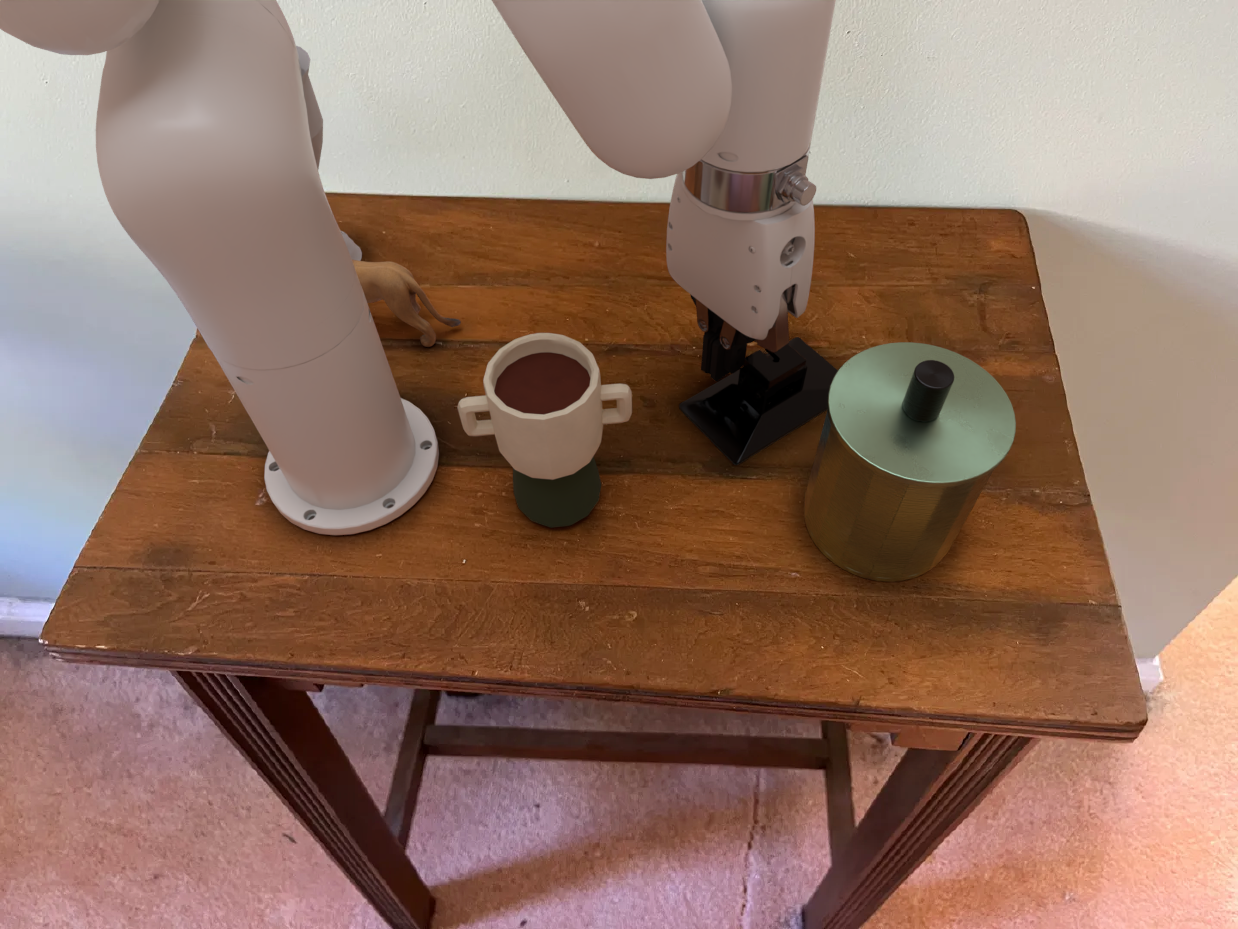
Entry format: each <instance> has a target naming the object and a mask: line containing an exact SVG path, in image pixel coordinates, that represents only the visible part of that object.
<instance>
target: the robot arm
mask: <svg viewBox="0 0 1238 929" xmlns="http://www.w3.org/2000/svg"><path fill="white" fill-rule="evenodd" d="M491 2H492V3H493V5H494V7H495V9H496V10H497V12H498V13H499V15H500V16H501V18H502V20H503V21H504V23H505V25H506V26H507V27H508V30H509V31H510V33H511V34H512V35H513V37H514V38H515V40H516V42H517V43H518V45H519V46H520V48H521V50H522V51H523V53H524V54H525V56H526V57H527V59H528V60H529V62H530V63H531V65H532V66H533V68H534V69H535V71H536V73H537V74H538V75H539V77H540V78H541V80H542V82H543V83H544V85H545V86H546V87H547V89H548V90H549V92H550V93H551V95H552V97H553V98H554V99H555V102H556V103H558V105H559V107H560V108H561V110H562V111H563V113H564V115H566V117H567V118H568V120H569V122H570V123H571V125H572V126H573V128H574V129H575V131H576V132H577V133H578V135H579V136H580V138H581V139H582V141H583V142H584V144H585V145H586V146H587V147H588V149H589V150H590V151H591V152H592V153H593V155H594V156H595V157H596V158H597V159H599V160H600V162H602V163H603V164H605V165H606V166H608V168H611V169H613V170H614V171H617V172H619V173H620V174H622V175H626V176H629V177H631V178H632V177H633V178H635V179H646V180H655V179H664V178H668V177H672V176H675V179H674V183H673V187H672V192H671V197H670V202H669V203H670V204H669V210H668V216H667V226H666V227H667V228H666V239H665V240H666V244H665V254H666V255H665V256H666V266H667V267H666V268H667V271H668V274H669V276H670V277H671V278H672V280H673V281H675V283H676V284H677V285H678V286H680V287H681V288H682V290H685V292H687V293H688V294H689V296H690V299H691V301H692V302H693V304H694V306H695V308H696V323H697V326H698V328H699V329H700V330H701V331H702V332H703V333H704V334H703V338H702V349H701V361H700V362H701V364H700V370H701V372H703V373H704V374H706V375H709V377H710V378H711V379H712V380H713V381H714V382H719V381H720V380H722V379H724V378H725V377H727V376H728V375H731V374H733V373H735V372H736V371H738V370H740V368H742V367H743V364H744V358H746V357H747V349H748V344H751V343H753V342H754V343H756V345H757V346H759V347H761V348H763V349H764V350H765V349H767V350H769V351H771V352H773V353H776V352H777V351H779V350H780V349H782V348H783V347H785V346H786V345H788V344H789V341H790V330H789V314H790V315H791V316H793V317H794V318H796V319H798V318H799V317H800V316H802V315H803V314H804V313H805V312H806V310H807V306H808V302H809V297H810V290H811V285H812V277H813V267H814V259H815V257H814V256H815V242H816V240H815V238H816V236H815V235H816V233H815V232H816V225H815V209H814V208H815V207H814V200H813V199H814V197H815V196H816V192H817V185H815V183H813V182H812V181H810V180H809V178H808V176H807V175H806V174H807V168H808V162H809V156H810V150H811V144H812V138H813V133H814V127H815V122H816V116H817V110H818V104H819V100H820V99H819V98H820V94H821V88H822V82H823V77H824V76H823V75H824V70H825V64H826V58H827V54H828V53H827V52H828V46H829V41H830V35H831V30H832V24H833V18H834V12H835V7H836V2H837V0H491ZM290 27H291V26H290V24H289V22H288V20H287V18H286V17H285V14H284V12H283V10H282V8H281V6H280V4H279V3H278V1H277V0H0V30H1V31H2V32H4V33H5V34H8V35H10V36H11V37H13V38H15V39H17V40H19V41H21V42H24V44H28V45H29V46H31V47H34V48H37V49H40V50H44V51H46V52H47V51H48V52H52V53H54V54H58V55H65V56H66V55H67V56H90V55H91V56H92V55H97V54H102V53H106V54H105V61H104V64H103V69H102V72H101V78H100V86H99V92H98V94H99V95H98V102H97V108H96V109H97V110H96V117H95V118H96V119H95V121H96V122H95V152H96V162H97V168H98V173H99V177H100V181H101V185H102V188H103V191H104V194H105V196H106V200H107V202H108V204H109V207H110V209H111V210H112V212H113V214H114V216H115V217H116V219H117V220H118V222H119V224H120V226H121V227H122V229H123V230H124V231H125V233H126V234H127V235H128V237H129V238H130V239H131V240H132V242H133V243H134V244H135V245H136V246H137V248H138V249H139V251H141V252H142V253H143V255H144V256H145V257H146V258H147V259H148V260H149V261H150V263H152V265H153V266H154V267H155V268H156V269H157V271H158V272H159V273H160V275H162V277H163V279H165V281H166V282H167V283H168V285H169V286H170V288H171V289H172V290H173V292H174V293H175V295H176V296H177V298H178V300H179V301H180V303H181V304H182V305H183V307H184V309H185V310H186V312H187V314H188V315H189V317H190V319H191V321H192V322H193V324H194V325H195V327H196V329H197V330H198V332H199V333H200V335H201V337H202V339H203V340H204V342H205V344H206V346H207V348H208V349H209V350H210V351H211V353H212V354H213V356H214V358H215V360H216V361H217V363H218V365H219V366H220V368H221V370H222V372H223V374H224V375H225V377H226V378H227V380H228V382H229V383H230V385H231V387H232V389H233V391H234V392H235V394H236V395H237V398H238V399H239V401H240V403H241V404H242V406H243V407H244V410H245V411H246V413H247V414H248V416H249V418H250V420H251V422H252V423H253V425H254V427H255V428H256V430H257V432H258V434H259V435H260V437H261V439H262V440H263V442H264V444H265V447H267V449H268V452H267V455H266V459H265V463H264V474H263V475H264V476H263V477H264V478H263V479H264V483H265V488H266V489H265V490H266V492H267V495H268V496H269V498H270V500H271V502H272V503H273V504H274V506H275V508H276V509H277V511H278V512H279V513H280V514H281V515H282V516H283V517H284V518H285V519H286V520H288V522H290V523H291V524H293V525H295V526H297V527H298V528H301V529H302V530H304V531H308V532H311V533H315V534H319V535H330V536H343V535H344V536H347V535H355V534H359V533H364V532H368V531H372V530H374V529H376V528H379V527H382V526H384V525H387V524H389V523H390V522H392V521H394V520H395V519H397V518H399V517H401V516H402V515H403V514H405V513H406V512H407V511H408V510H409V509H411V508H412V507H413V506H414V505H416V504H417V503H418V501H419V500H420V499H421V498H422V497H423V496H424V495H425V493H426V492H427V490H428V489H429V487H430V485H432V484H431V483H432V482H433V480H434V477H435V475H436V472H437V469H438V466H439V459H440V450H439V449H440V448H439V440H438V437H437V435H436V432H435V429H434V427H433V425H432V423H431V421H430V419H429V417H428V416H427V415H426V414H425V413H424V412H423V411H422V410H421V409H420V408H419V407H417V406H416V405H414V404H413V403H412V402H411V401H409V400H407V399H404V398H402V397H401V395H400V393H399V390H398V386H397V383H396V380H395V378H394V375H393V373H392V369H391V367H390V364H389V360H388V358H387V355H386V352H385V350H384V346H383V344H382V341H381V338H380V335H379V332H378V330H377V327H376V323H375V321H374V318H373V315H372V313H371V309H370V306H369V303H367V301H366V298H365V295H364V292H363V289H362V286H361V285H360V282H359V279H358V276H357V273H356V270H355V267H354V265H353V262H352V259H351V257H350V254H349V251H348V249H347V246H346V243H345V241H344V238H343V236H342V233H341V231H342V230H341V229H340V226H339V224H338V222H337V220H336V218H335V216H334V212H333V211H332V210H333V209H332V208H331V205H330V204H329V200H328V197H327V195H326V192H325V190H324V186H323V183H322V179H321V176H320V173H319V169H318V168H317V164H316V160H315V156H314V151H313V147H312V142H311V137H310V131H309V124H308V116H307V108H306V103H305V99H304V92H303V84H302V75H301V69H300V63H299V57H298V52H297V48H296V46H297V44H296V41H295V38H294V34H293V32H292V29H291V28H290ZM340 230H341V231H340Z"/></svg>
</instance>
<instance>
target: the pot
mask: <svg viewBox="0 0 1238 929" xmlns="http://www.w3.org/2000/svg"><path fill="white" fill-rule="evenodd" d="M993 472H994V470H992V471H991V472H990V473H988V474H987V475H985V476H983V477H981V478H979V479H977V480H975V481H972V482H969V483H966V484H962V485H957V486H951V487H923V486H915V485H911V484H906V483H902V482H899V481H896V480H893V479H890V478H888V477H886V476H883V475H881V474H879V473H877V472H875V471H873V470H872V469H870V468H868V467H867V466H865V465H864V464H863V463H861V462H860V461H858V460H857V459H856V458H855V457H854V456H853V455H852V454H851V453H849V452H848V450H847V449H846V448H845V447H844V446H843V445H842V443H841V442H840V440H839V439H838V437H837V436H836V434H835V432H834V430H833V428H832V426H831V423H830V420H829V417H828V410H826V413H825V418H824V422H823V426H822V429H821V433H820V437H819V441H818V444H817V448H816V451H815V455H814V460H813V463H812V467H811V470H810V474H809V478H808V482H807V486H806V490H805V493H804V498H803V499H804V503H803V518H804V523H805V526H806V530H807V533H808V534H809V537H810V538H811V540H812V542H813V544H814V545H815V546H816V548H817V550H819V552H820V553H821V554H823V555H824V557H826V558H827V559H828V560H829V561H830V562H832V563H833V565H836V567H838V568H840V569H842V570H844V571H845V572H847V573H849V574H851V575H855V576H856V577H860V578H862V579H866V580H872V581H875V582H876V581H877V582H887V583H888V582H903V581H907V580H912V579H914V578H917V577H921V576H922V575H924V574H926V573H928V572H929V571H931V570H932V569H934V568H935V567H936V566H937V565H938V564H939V563H940V562H941V561H942V560H943V558H944V557H945V556H946V555H947V554H948V553H949V551H950V550H951V548H952V546H953V544H954V542H955V541H956V538H957V537H958V535H959V533H960V531H961V530H962V528H963V526H964V525H965V522H966V521H967V519H968V518H969V515H970V514H971V512H972V510H973V508H974V506H975V504H976V503H977V502H978V500H979V498H980V495H981V494H982V492H983V490H984V488H985V486H986V485H987V483H988V481H989V479H990V478H991V476H992V474H993Z"/></svg>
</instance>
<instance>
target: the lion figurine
mask: <svg viewBox="0 0 1238 929" xmlns="http://www.w3.org/2000/svg"><path fill="white" fill-rule="evenodd" d="M352 262H353V265H354V267H355V270H356V273H357V276H358V279H359V282H360V285H361V286H362V289H363V292H364V295H365V298H366V301H367V303H368V304H373V303H377V302H379V301H381V300H383V301H384V303H385V304H386V306H387V307H388V309H389V310H390V311H391V312H392V313H393V314H394V316H396V317H397V318H398V319H400V321H402V322H404V323H405V324H406V325H409V326H411V327H412V328H414V329H417V330H418V331H420V332H421V333H422V334H423V335H420V337H419V341H420V343H421V345H422V346H423V347H427V348H429V347H433V346H434V344H435V343H436V341H437V334H436V332H435V330H434V328H433V327H432V324H430V322H429V321H427V320H426V319H424V318H422V317H421V315H419V313H420V311H421V310H422V309H421V308H422V307H421V305H420V304H419V303H418V301H417V299H416V297H418V299H419V300H420V302H421V303H422V305H423V306H424V307H425V309H426V310H427V311H428V312H429V313H430V314H431V315H432V316H433V318H434V319H435V320H437V321H438V322H440V323H442V324H443V325H446V326H447V327H451V328H454V327H458V326H460V325H461V321H462V320H461V319H458V318H454V317H453V318H452V317H451V318H450V317H445V316H442V315H441V314H440V313H439V312H438V310H437V309H436V308H435V307H434V305H433V304H432V302H431V300H430V299H429V297H428V296H427V294H426V292H425V291H424V289H422V287H421V286H420V284H419V283H418V282H417V281H416V280H415V277H414V275H413V273H412V272H411V271H410V270H409V269H408V268H406V267H405V266H403V265H401V264H399V263H397V262H395V261H391V260H390V261H364V260H360V261H358V260H352ZM416 295H417V296H416Z"/></svg>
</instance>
